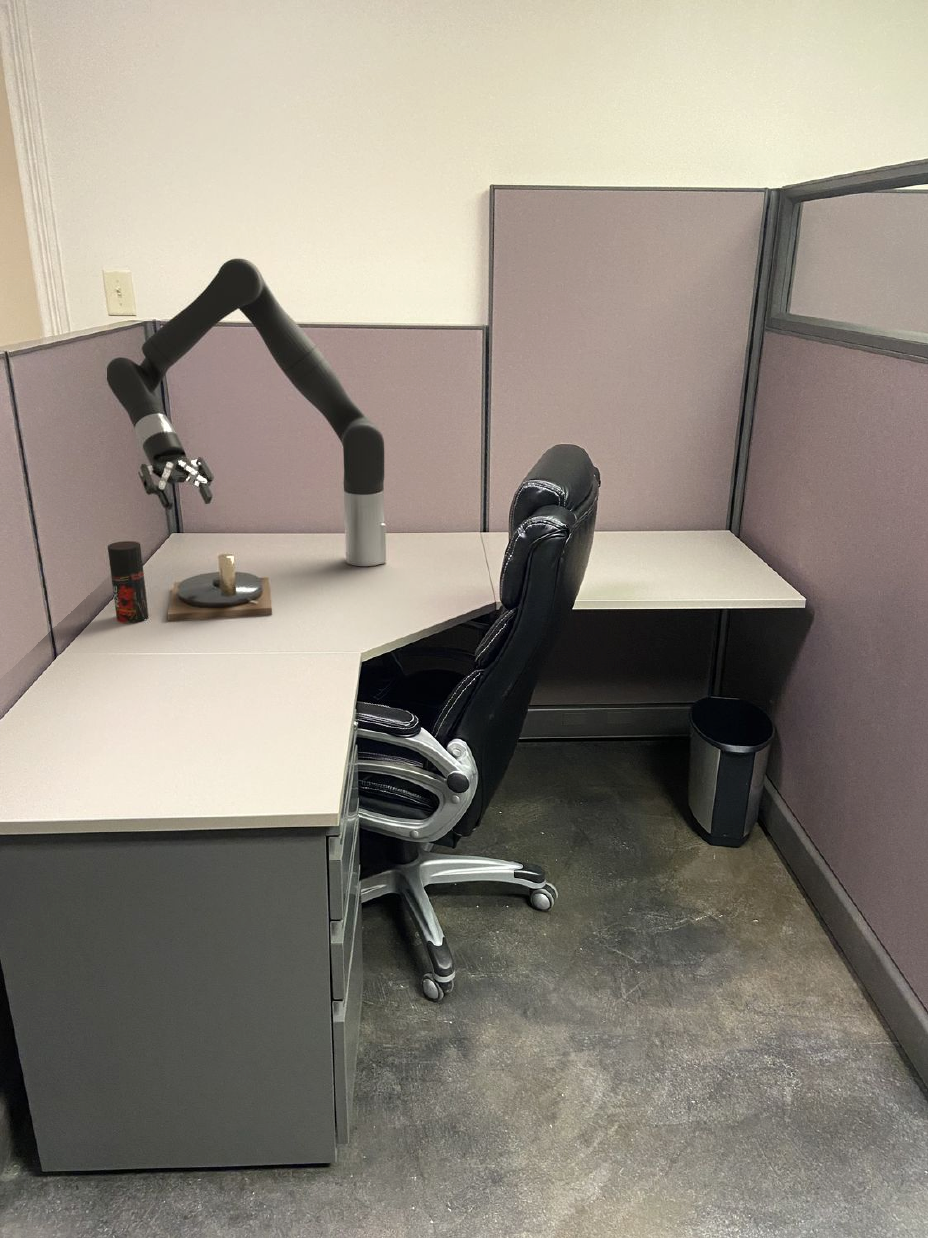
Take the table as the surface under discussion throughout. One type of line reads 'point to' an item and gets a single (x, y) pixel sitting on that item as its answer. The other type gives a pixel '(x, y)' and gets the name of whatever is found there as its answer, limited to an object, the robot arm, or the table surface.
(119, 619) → the deodorant
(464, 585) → the table surface
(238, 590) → the crank turntable
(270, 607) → the stand base
